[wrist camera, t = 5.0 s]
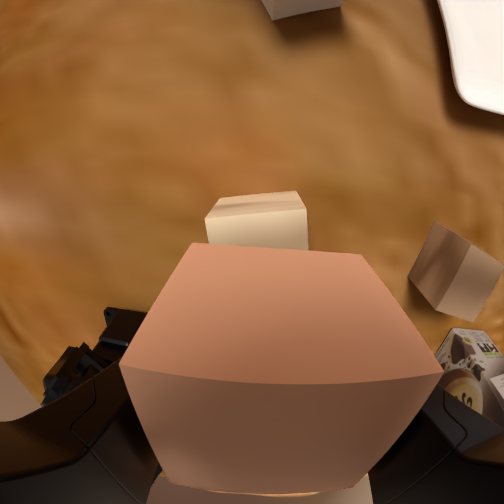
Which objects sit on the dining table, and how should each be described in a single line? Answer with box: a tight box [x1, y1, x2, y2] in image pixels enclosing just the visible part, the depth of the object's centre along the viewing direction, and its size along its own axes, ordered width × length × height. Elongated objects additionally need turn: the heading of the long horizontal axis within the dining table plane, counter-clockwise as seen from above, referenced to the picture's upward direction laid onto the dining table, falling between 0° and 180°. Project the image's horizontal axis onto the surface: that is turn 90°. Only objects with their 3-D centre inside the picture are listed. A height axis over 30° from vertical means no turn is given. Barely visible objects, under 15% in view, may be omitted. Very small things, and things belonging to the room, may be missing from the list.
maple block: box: [205, 191, 308, 251], centre depth 17 cm, size 5×5×5 cm
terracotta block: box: [119, 243, 444, 494], centre depth 7 cm, size 5×5×5 cm
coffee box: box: [435, 328, 504, 428], centre depth 16 cm, size 9×6×16 cm
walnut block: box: [408, 221, 504, 322], centre depth 17 cm, size 5×5×5 cm
